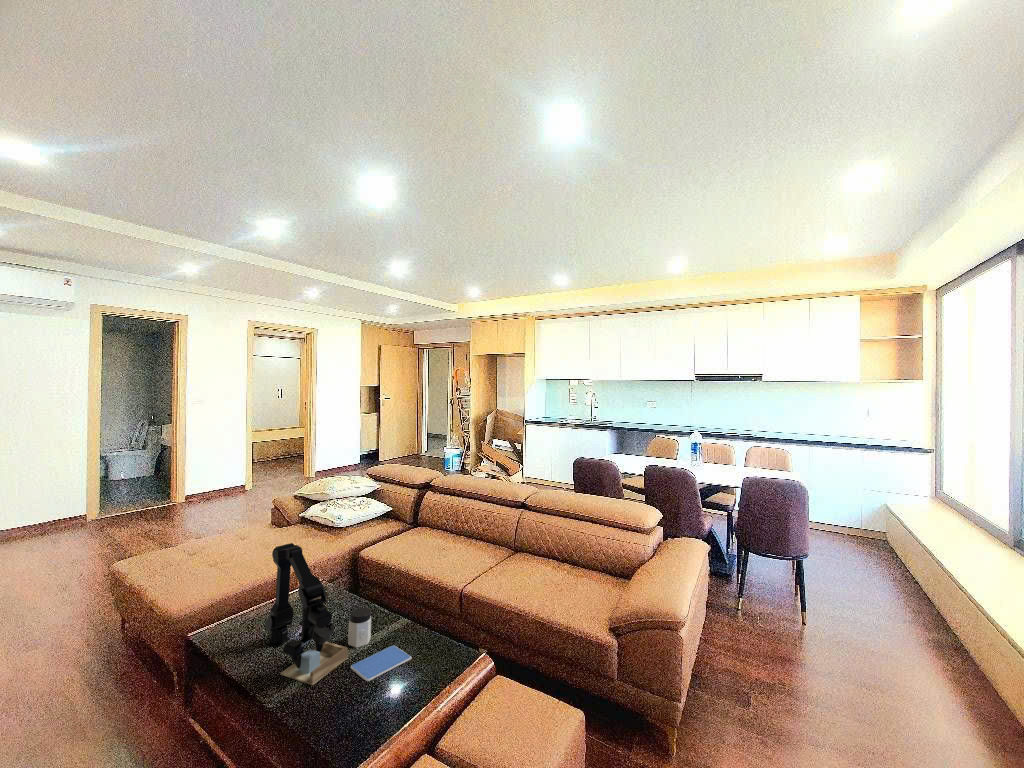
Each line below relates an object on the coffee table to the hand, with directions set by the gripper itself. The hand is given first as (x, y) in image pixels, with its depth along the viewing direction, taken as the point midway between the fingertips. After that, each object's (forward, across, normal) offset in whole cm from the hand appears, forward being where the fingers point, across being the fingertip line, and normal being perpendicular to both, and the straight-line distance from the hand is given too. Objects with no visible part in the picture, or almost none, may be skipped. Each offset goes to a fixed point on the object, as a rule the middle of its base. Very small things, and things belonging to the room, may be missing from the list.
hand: (308, 660), depth 160 cm
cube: (+2, 0, 0) cm, 3 cm away
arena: (+3, +2, 0) cm, 4 cm away
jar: (+3, +22, -4) cm, 23 cm away
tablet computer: (+4, +14, -22) cm, 26 cm away
